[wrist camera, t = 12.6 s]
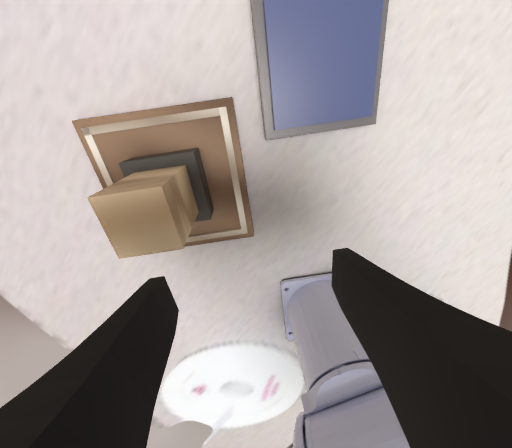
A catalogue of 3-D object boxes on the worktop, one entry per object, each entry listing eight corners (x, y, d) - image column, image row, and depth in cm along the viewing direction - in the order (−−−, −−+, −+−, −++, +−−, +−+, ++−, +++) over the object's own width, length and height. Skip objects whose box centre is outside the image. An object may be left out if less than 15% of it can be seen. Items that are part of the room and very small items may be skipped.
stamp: (213, 209, 18) (200, 257, 12) (155, 218, 18) (111, 271, 12) (198, 147, 16) (172, 167, 10) (131, 157, 16) (62, 184, 10)
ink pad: (368, 123, 17) (379, 124, 15) (265, 138, 17) (267, 140, 15) (381, -22, 13) (398, -38, 12) (250, -3, 13) (251, -17, 12)
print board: (253, 233, 20) (254, 237, 19) (136, 250, 20) (133, 255, 19) (232, 97, 15) (232, 96, 15) (77, 120, 15) (69, 121, 14)
